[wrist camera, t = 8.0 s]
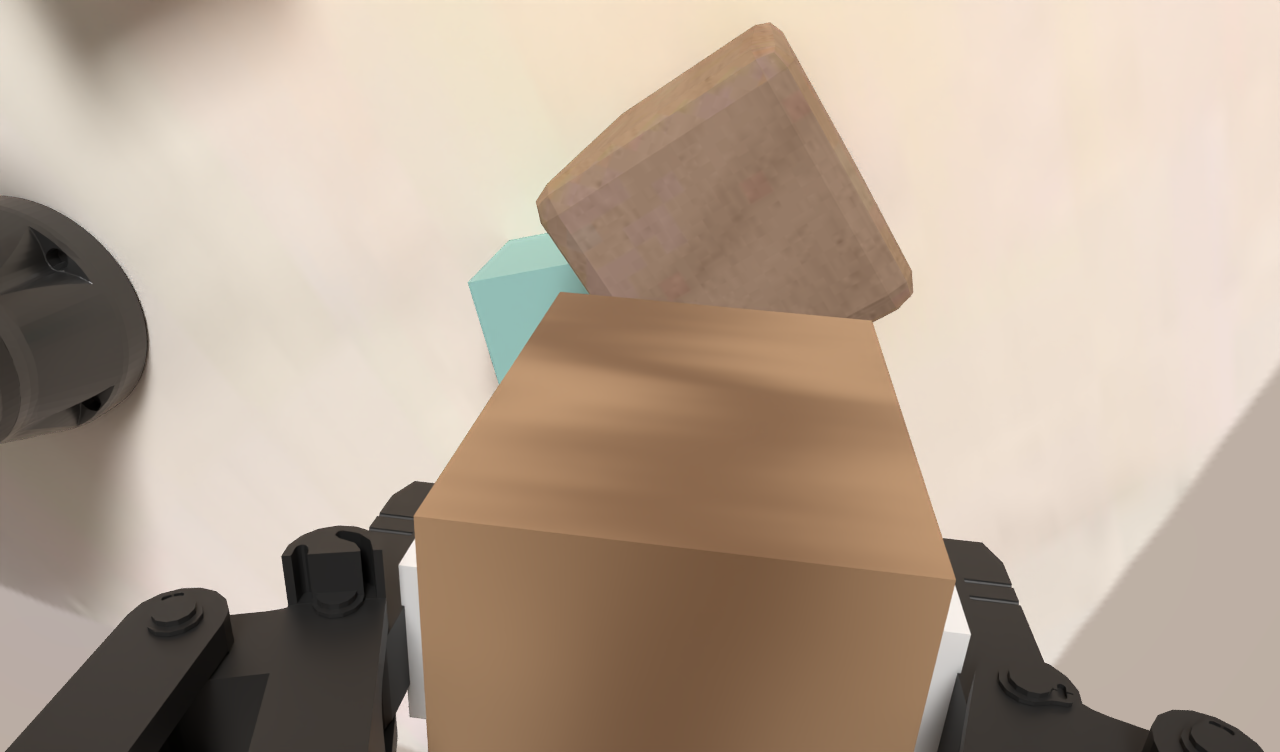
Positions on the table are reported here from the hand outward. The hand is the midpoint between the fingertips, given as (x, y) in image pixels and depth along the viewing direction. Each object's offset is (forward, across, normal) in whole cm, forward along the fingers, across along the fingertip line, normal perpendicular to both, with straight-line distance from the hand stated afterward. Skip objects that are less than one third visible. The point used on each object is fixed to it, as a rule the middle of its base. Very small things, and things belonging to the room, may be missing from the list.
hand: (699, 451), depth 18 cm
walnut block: (0, 0, 0) cm, 0 cm away
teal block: (+33, -9, -8) cm, 35 cm away
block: (+33, 0, 0) cm, 33 cm away
